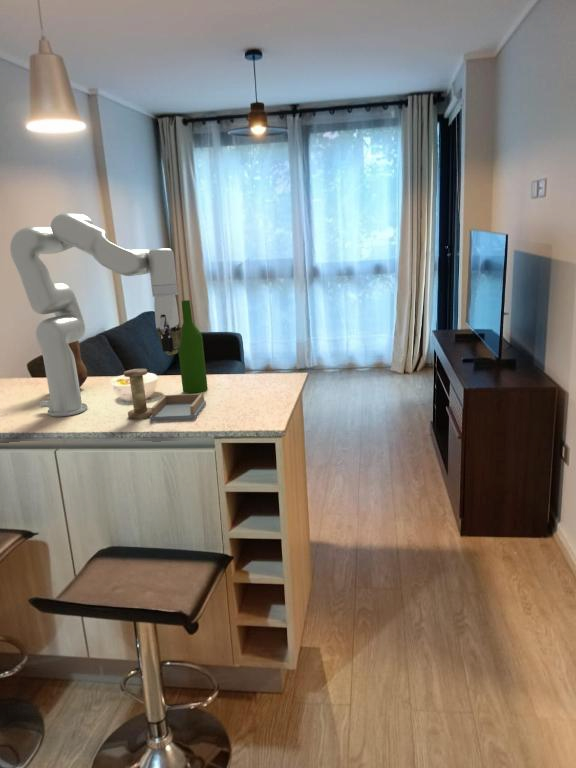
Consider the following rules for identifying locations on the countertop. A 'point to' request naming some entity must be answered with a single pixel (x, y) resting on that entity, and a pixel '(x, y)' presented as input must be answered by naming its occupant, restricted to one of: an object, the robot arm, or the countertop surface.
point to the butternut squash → (78, 362)
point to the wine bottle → (191, 355)
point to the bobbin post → (138, 394)
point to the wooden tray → (178, 407)
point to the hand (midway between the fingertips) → (171, 348)
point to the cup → (176, 337)
